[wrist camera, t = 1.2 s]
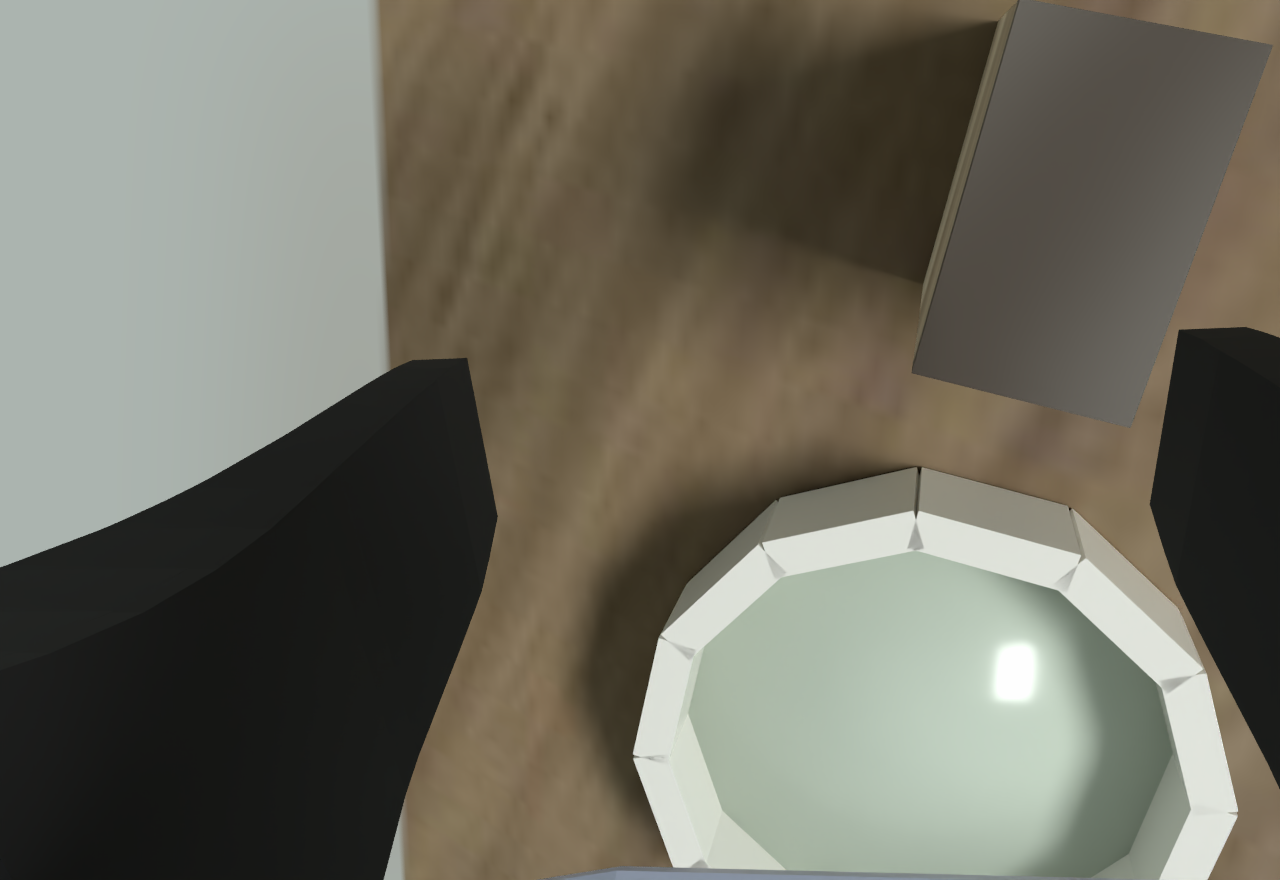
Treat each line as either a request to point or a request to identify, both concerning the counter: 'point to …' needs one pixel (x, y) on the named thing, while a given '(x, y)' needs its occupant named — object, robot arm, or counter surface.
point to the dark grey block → (1080, 205)
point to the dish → (931, 696)
